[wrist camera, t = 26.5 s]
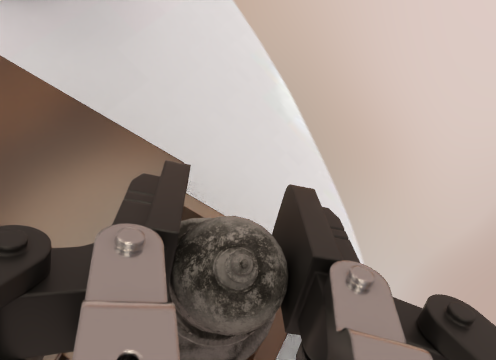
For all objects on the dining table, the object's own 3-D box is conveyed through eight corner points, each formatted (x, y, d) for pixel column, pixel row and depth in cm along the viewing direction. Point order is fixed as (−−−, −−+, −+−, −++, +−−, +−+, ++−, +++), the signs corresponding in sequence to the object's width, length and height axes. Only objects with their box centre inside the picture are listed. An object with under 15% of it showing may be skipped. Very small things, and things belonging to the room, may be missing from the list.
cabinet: (177, 201, 34) (184, 162, 26) (74, 364, 29) (41, 382, 21) (8, 103, 34) (-41, 31, 26) (-125, 251, 29) (-241, 222, 21)
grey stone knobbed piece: (213, 394, 18) (295, 502, 7) (102, 317, 19) (16, 307, 7) (281, 279, 21) (423, 227, 10) (181, 211, 21) (206, 79, 10)
